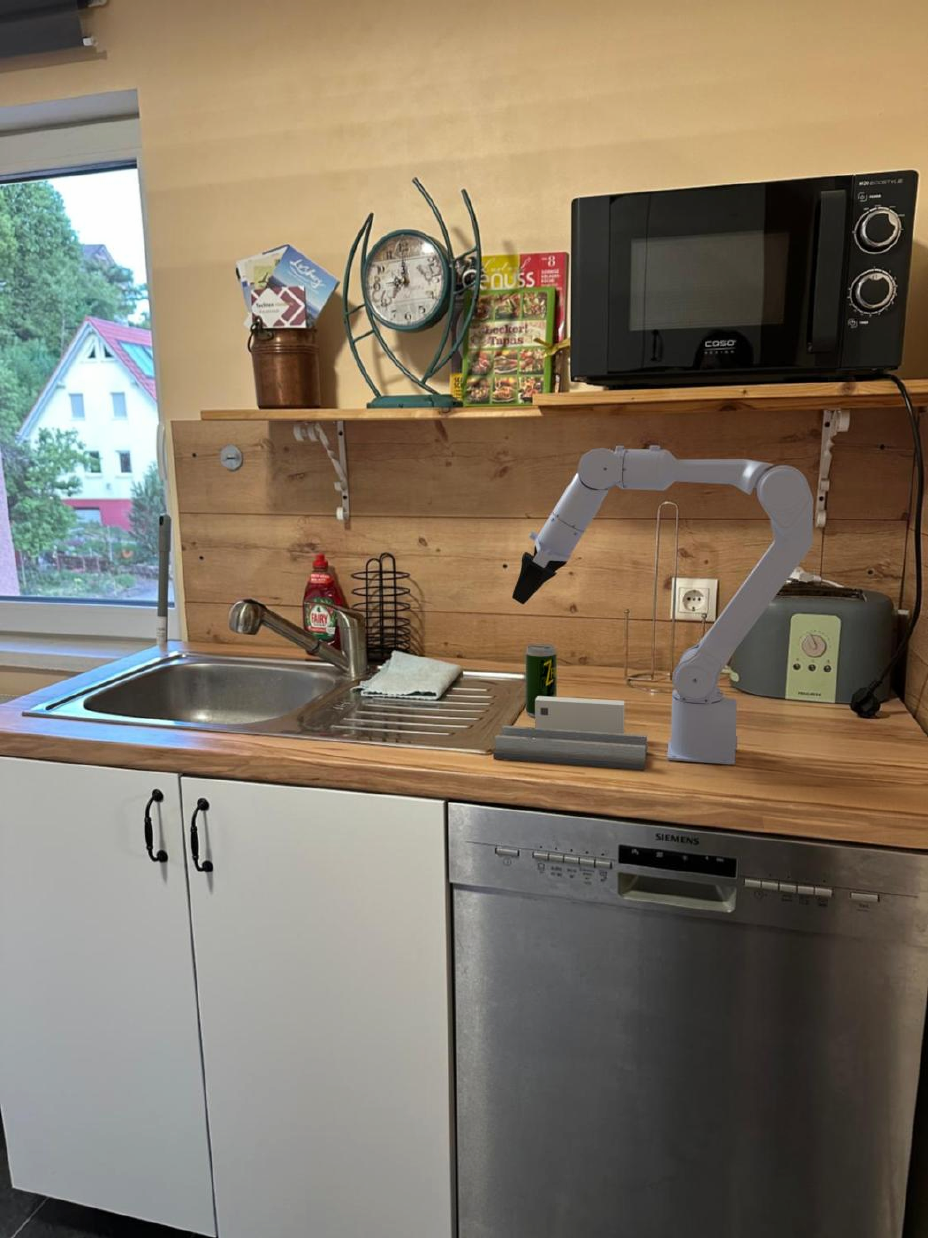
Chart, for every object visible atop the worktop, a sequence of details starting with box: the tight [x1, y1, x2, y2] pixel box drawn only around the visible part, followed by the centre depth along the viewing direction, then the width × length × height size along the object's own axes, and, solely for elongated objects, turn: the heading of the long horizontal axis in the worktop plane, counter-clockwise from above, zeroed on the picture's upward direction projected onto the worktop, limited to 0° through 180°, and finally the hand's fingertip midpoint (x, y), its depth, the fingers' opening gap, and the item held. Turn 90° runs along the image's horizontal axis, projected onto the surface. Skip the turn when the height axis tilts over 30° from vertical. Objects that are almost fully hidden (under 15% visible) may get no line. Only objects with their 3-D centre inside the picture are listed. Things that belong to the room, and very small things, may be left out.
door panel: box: [534, 696, 626, 733], centre depth 133 cm, size 14×2×6 cm, turn 75°
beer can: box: [525, 643, 558, 719], centre depth 144 cm, size 5×5×12 cm
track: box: [492, 724, 648, 771], centre depth 125 cm, size 22×8×3 cm, turn 75°
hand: (523, 595), depth 129 cm, fingers open, 7 cm apart
